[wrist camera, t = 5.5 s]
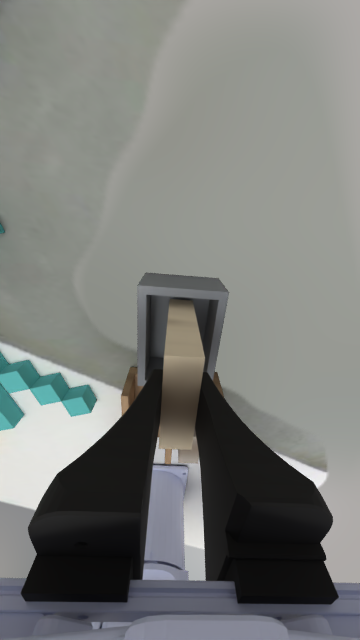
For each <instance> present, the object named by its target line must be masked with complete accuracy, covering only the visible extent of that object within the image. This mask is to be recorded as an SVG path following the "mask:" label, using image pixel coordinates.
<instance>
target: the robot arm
mask: <svg viewBox="0 0 360 640" xmlns="http://www.w3.org/2000/svg"><path fill="white" fill-rule="evenodd" d="M162 383H163V370H162V369H153V370H152V371H151V373H150V376H149V378H148V380H147V381H146V383H145V385H144V387H143V388H142V390H141V391H140V393H139V394H138V396H137V397H136V399H135V400H134V401H133V403H132V404H131V406H130V407H129V408H128V409H127V411H126V412H125V413H124V414H123V416H122V417H121V418H120V419H119V420H118V421H117V422H116V423H115V424H114V425H113V427H112V428H111V429H110V430H109V431H108V432H107V433H106V434H105V435H104V436H103V437H102V438H100V439H99V440H98V441H97V442H96V443H95V444H94V445H93V446H91V447H90V448H89V449H88V450H87V451H86V452H85V453H83V454H82V455H81V456H80V457H79V458H77V459H76V460H75V461H73V462H72V463H71V464H69V465H68V466H67V467H66V468H64V469H63V470H62V471H60V472H59V473H58V474H57V475H56V477H55V478H54V480H53V481H52V483H51V484H50V486H49V487H48V489H47V491H46V492H45V494H44V496H43V497H42V499H41V501H40V503H39V505H38V507H37V509H36V512H35V514H34V516H33V518H32V520H31V522H30V524H29V527H28V532H29V536H30V539H31V541H32V544H33V546H34V548H35V550H36V553H37V556H36V558H35V560H34V563H33V565H32V567H31V570H30V572H29V574H28V577H27V578H0V640H360V583H333V582H332V580H331V577H330V575H329V573H328V571H327V568H326V566H325V564H324V561H325V560H326V555H325V552H324V550H323V548H322V546H321V544H320V542H321V541H322V540H323V538H324V537H325V536H326V534H327V533H328V532H329V530H330V528H331V526H332V523H333V516H332V514H331V513H330V511H329V509H328V507H327V505H326V503H325V501H324V499H323V497H322V496H321V494H320V492H319V491H318V489H317V487H316V486H315V484H314V482H312V481H311V480H310V479H308V478H307V477H305V476H304V475H303V474H301V473H300V472H299V471H297V470H296V469H294V468H293V467H292V466H290V465H289V464H288V463H287V462H285V461H284V460H283V459H282V458H280V457H279V456H278V455H277V454H276V453H274V452H273V451H272V450H271V449H270V448H269V447H268V446H266V445H265V444H264V443H263V442H262V441H261V440H260V439H259V438H258V437H257V436H256V435H255V434H254V433H253V432H252V431H251V430H250V429H249V428H248V427H247V426H246V425H245V424H244V423H243V422H242V420H241V419H240V418H239V417H238V416H237V414H236V413H235V412H234V411H233V409H232V408H231V407H230V406H229V404H228V403H227V402H226V400H225V399H224V397H223V396H222V394H221V393H220V391H219V390H218V388H217V387H216V385H215V384H214V382H213V380H212V379H211V377H210V375H209V374H208V372H203V375H202V382H201V389H200V396H199V402H198V409H197V416H196V422H195V432H196V438H197V445H198V452H199V458H200V467H201V483H202V501H203V520H204V543H205V568H206V570H205V571H206V581H189V580H188V571H186V570H185V561H184V560H185V558H184V512H183V501H184V495H185V488H186V482H187V476H188V468H187V467H185V466H161V465H153V461H154V454H155V449H156V443H157V437H158V432H159V426H160V417H161V400H162Z"/></svg>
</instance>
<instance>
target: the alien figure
mask: <svg viewBox="0 0 360 640" xmlns="http://www.w3.org/2000/svg"><path fill="white" fill-rule="evenodd" d="M4 232H5V231H4V229H3V227H2V225H1V224H0V234H1V233H4ZM0 382H1V383H0V431H1V430H6V429H11V428H14V427H15V426H16V425H17V423H18V422H19V421H20V420H21V418H22V417H23V416H24V413H23V412H22V411H21V409H20V408H19V407H18V406H17V404H16V403H15V402H14V400H13V399H12V398H11V396H10V395H9V394H8V393H13V392H17V391H22V390H27V389H30V390H31V392H32V393H33V395H34V396H35V398H36V399H37V400H38V402H39V403H40V405H45V404H50V403H55V402H60V401H61V402H62V403H63V405H64V406H65V408H66V409H67V411H68V413H69V414H70V416H71V417H72V416H77V415H82V414H87V413H91V411H92V409H93V407H94V405H95V403H96V400H97V399H96V397H95V396H94V394H93V392H92V390H91V388H90V386H89V385H84V386H80V387H75V388H70V389H69V387H68V386H67V384H66V382H65V381H64V379H63V377H62V376H61V374H60V373H56V374H51V375H47V376H42V377H40V376H39V374H38V373H37V371H36V370H35V368H34V367H33V365H32V364H31V362H30V361H29V360H26V361H21V362H17V363H13V364H8V362H7V361H6V359H5V358H4V357H3V355H2V354H1V352H0ZM1 384H2V385H3V386H4V387H3V386H2V385H1ZM4 388H5V389H6V390H7V391H6V390H5V389H4Z"/></svg>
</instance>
